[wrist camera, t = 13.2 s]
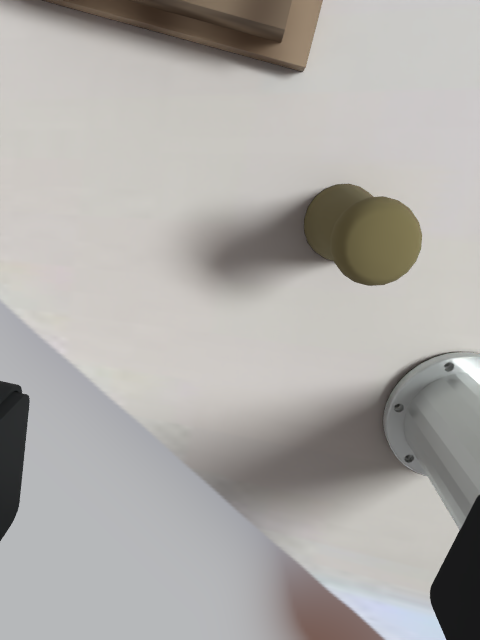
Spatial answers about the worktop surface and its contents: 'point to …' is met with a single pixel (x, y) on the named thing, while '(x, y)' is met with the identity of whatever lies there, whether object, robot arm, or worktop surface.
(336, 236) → the cork
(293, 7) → the brown rectangular recessed tray
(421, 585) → the worktop surface
